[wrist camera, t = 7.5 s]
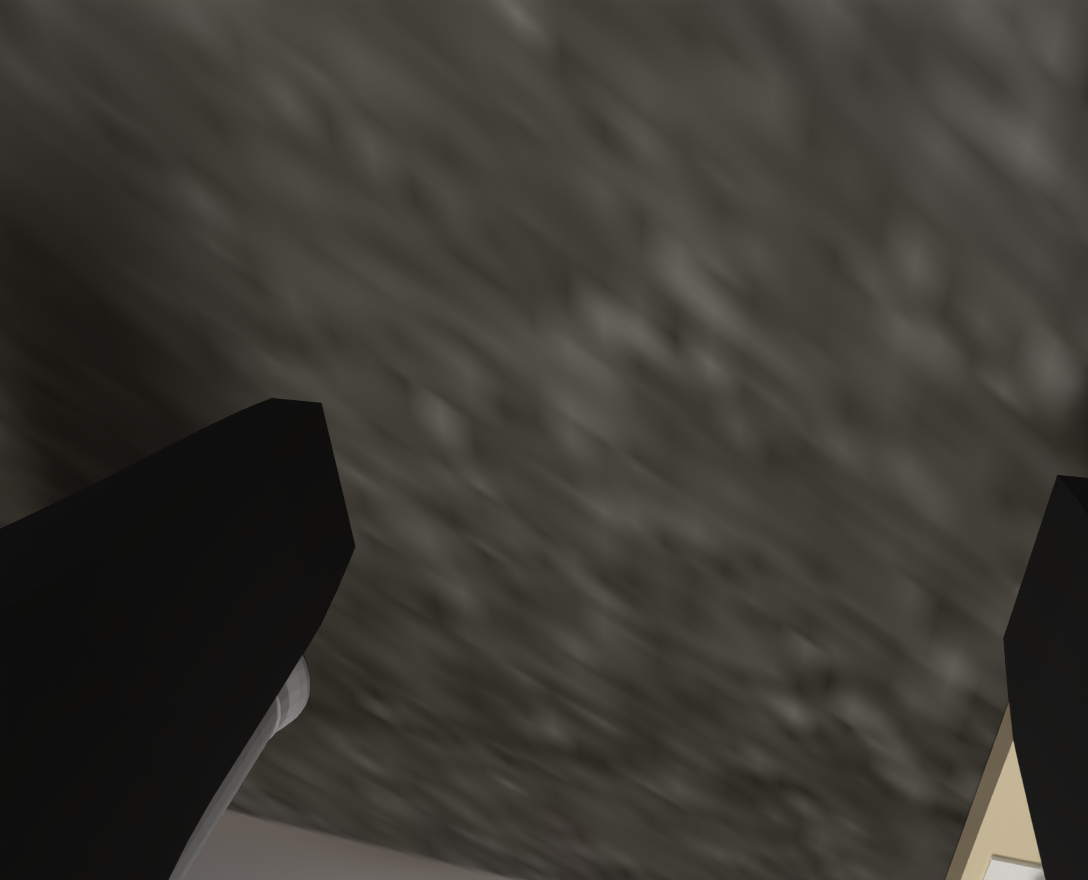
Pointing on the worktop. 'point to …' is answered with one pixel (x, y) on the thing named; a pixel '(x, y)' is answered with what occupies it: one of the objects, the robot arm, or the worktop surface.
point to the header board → (998, 822)
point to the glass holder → (248, 761)
